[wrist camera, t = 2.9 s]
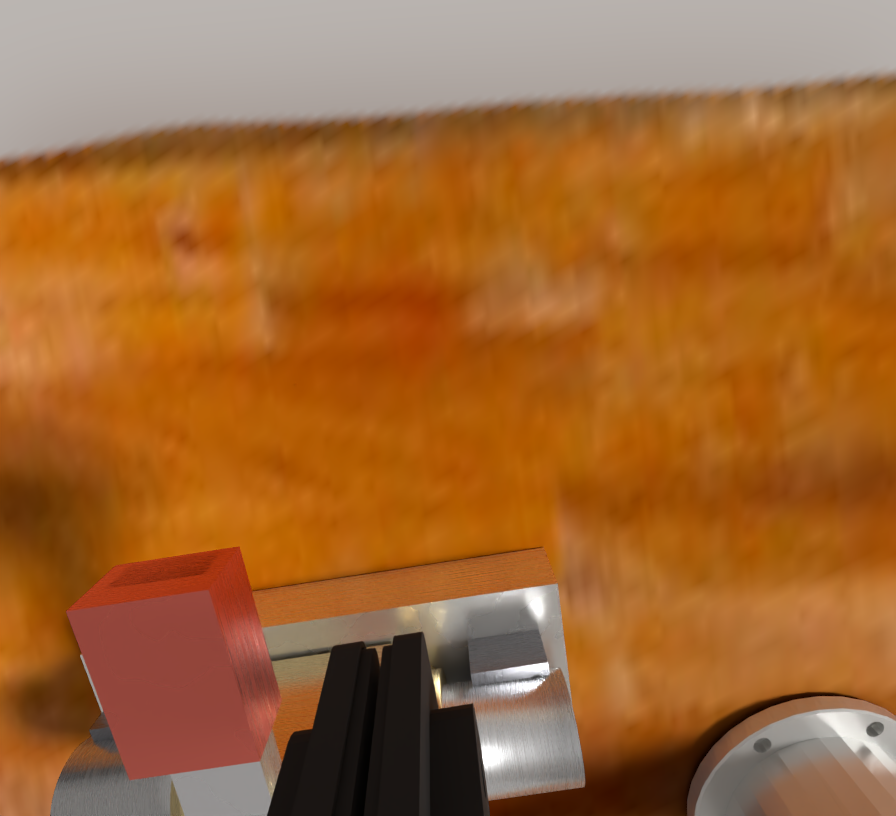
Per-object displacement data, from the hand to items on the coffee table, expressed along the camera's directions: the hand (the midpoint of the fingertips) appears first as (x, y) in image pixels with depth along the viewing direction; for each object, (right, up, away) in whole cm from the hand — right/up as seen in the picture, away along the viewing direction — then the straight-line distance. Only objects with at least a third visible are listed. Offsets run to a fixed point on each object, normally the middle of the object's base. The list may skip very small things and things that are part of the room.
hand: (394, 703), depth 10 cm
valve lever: (-4, -5, +5) cm, 8 cm away
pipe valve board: (-4, -7, +17) cm, 18 cm away
